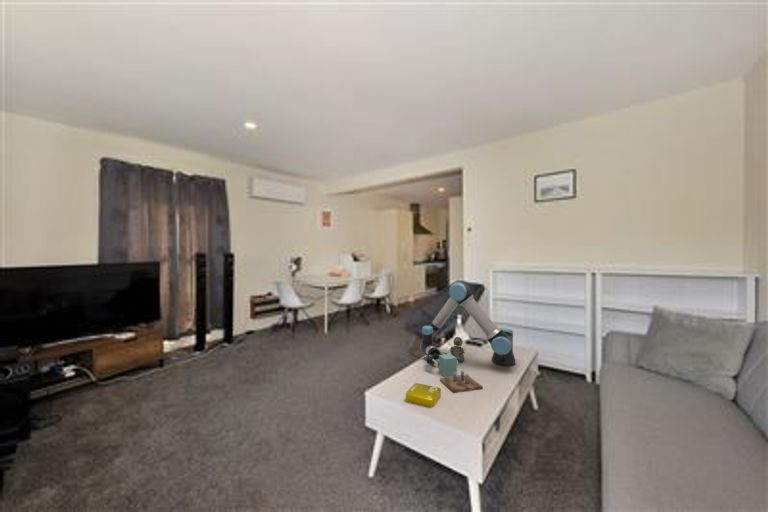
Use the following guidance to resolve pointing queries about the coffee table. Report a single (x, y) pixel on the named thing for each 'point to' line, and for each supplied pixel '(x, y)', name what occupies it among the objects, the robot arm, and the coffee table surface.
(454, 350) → the figurine
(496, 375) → the coffee table surface
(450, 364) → the teal block
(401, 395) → the coffee table surface
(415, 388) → the element tile
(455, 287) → the robot arm
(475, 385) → the peg board
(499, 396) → the coffee table surface
